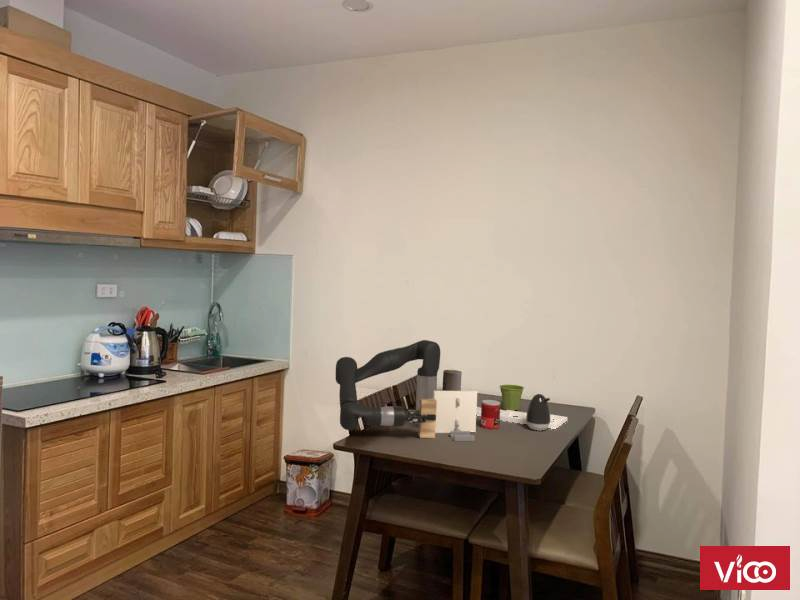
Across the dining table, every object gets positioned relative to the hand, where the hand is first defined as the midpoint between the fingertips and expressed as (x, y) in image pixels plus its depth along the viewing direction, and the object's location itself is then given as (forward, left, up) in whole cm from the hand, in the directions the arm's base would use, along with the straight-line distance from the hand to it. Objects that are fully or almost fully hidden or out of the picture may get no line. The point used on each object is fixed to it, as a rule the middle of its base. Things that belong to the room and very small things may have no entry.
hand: (434, 416), depth 243 cm
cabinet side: (-1, +10, -8) cm, 13 cm away
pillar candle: (-76, +27, -9) cm, 81 cm away
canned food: (-15, +28, -9) cm, 33 cm away
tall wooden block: (0, -3, -8) cm, 9 cm away
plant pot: (-47, +49, -9) cm, 69 cm away
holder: (-32, +45, -9) cm, 56 cm away
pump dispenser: (-11, +48, -9) cm, 50 cm away
